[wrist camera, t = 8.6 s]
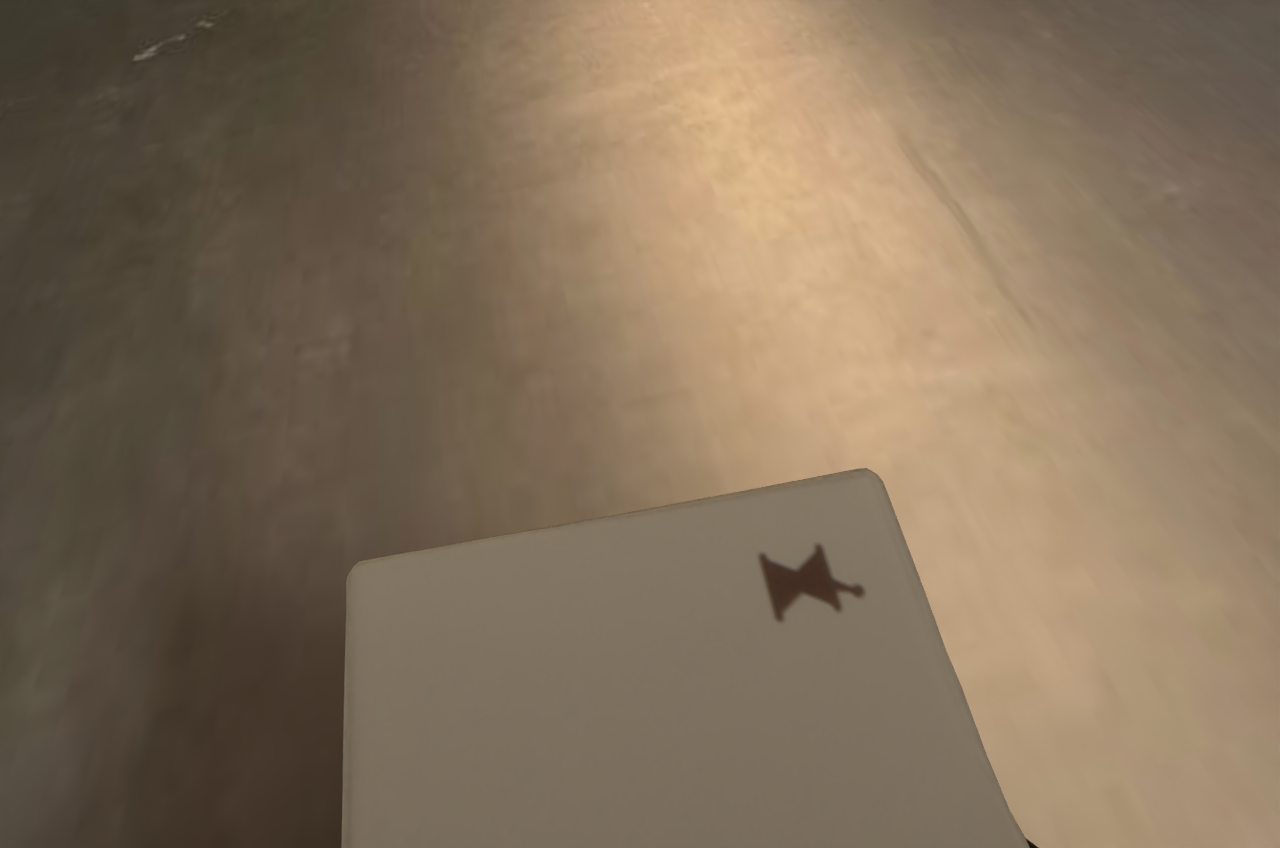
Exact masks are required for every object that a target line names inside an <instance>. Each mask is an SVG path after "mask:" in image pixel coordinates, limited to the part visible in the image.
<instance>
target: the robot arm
mask: <svg viewBox="0 0 1280 848" xmlns="http://www.w3.org/2000/svg"><path fill="white" fill-rule="evenodd" d="M1025 839H1026V838H1025ZM1026 841H1027V843H1028V845H1029V847H1030V848H1038V847H1037V846H1035V845H1034V844H1033V843H1031V842H1030V841H1029V840H1027V839H1026Z"/></svg>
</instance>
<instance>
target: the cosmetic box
mask: <svg viewBox="0 0 1280 848" xmlns="http://www.w3.org/2000/svg"><path fill="white" fill-rule="evenodd" d="M341 848H1030V847H1029V845H1028V843H1027V841H1026V839H1025V837H1024V835H1023V833H1022V831H1021V829H1020V828H1019V826H1018V824H1017V822H1016V821H1015V819H1014V817H1013V815H1012V814H1011V812H1010V810H1009V808H1008V805H1007V803H1006V800H1005V798H1004V796H1003V793H1002V791H1001V788H1000V786H999V783H998V781H997V779H996V776H995V774H994V771H993V769H992V767H991V764H990V762H989V760H988V757H987V755H986V752H985V749H984V746H983V744H982V741H981V738H980V736H979V733H978V730H977V728H976V725H975V722H974V719H973V717H972V714H971V711H970V709H969V706H968V703H967V701H966V698H965V695H964V693H963V690H962V687H961V685H960V682H959V680H958V678H957V675H956V673H955V670H954V668H953V666H952V663H951V661H950V659H949V656H948V654H947V652H946V649H945V646H944V643H943V641H942V638H941V635H940V632H939V629H938V627H937V624H936V621H935V618H934V616H933V613H932V610H931V608H930V605H929V602H928V600H927V597H926V594H925V591H924V589H923V586H922V583H921V581H920V578H919V575H918V572H917V570H916V567H915V565H914V562H913V559H912V557H911V554H910V551H909V549H908V546H907V544H906V541H905V538H904V536H903V533H902V530H901V528H900V525H899V522H898V520H897V517H896V514H895V512H894V509H893V506H892V504H891V501H890V498H889V496H888V493H887V491H886V488H885V485H884V483H883V481H882V480H881V479H880V477H879V476H878V475H877V474H876V473H874V472H872V471H871V470H869V469H867V468H864V469H855V470H850V471H844V472H839V473H834V474H828V475H823V476H818V477H813V478H808V479H803V480H798V481H792V482H787V483H782V484H777V485H772V486H767V487H761V488H756V489H751V490H746V491H741V492H735V493H730V494H725V495H719V496H714V497H709V498H703V499H698V500H693V501H687V502H682V503H677V504H671V505H666V506H660V507H655V508H650V509H644V510H639V511H634V512H628V513H623V514H618V515H612V516H607V517H601V518H596V519H590V520H585V521H579V522H574V523H568V524H563V525H557V526H552V527H546V528H541V529H535V530H530V531H525V532H519V533H514V534H508V535H503V536H497V537H492V538H486V539H480V540H475V541H469V542H464V543H458V544H452V545H447V546H441V547H436V548H430V549H424V550H419V551H413V552H407V553H402V554H396V555H391V556H385V557H380V558H375V559H370V560H365V561H359V562H357V563H356V565H355V566H354V567H353V568H352V570H351V571H350V573H349V575H348V577H347V580H346V642H345V679H344V727H343V795H342V847H341Z"/></svg>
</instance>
